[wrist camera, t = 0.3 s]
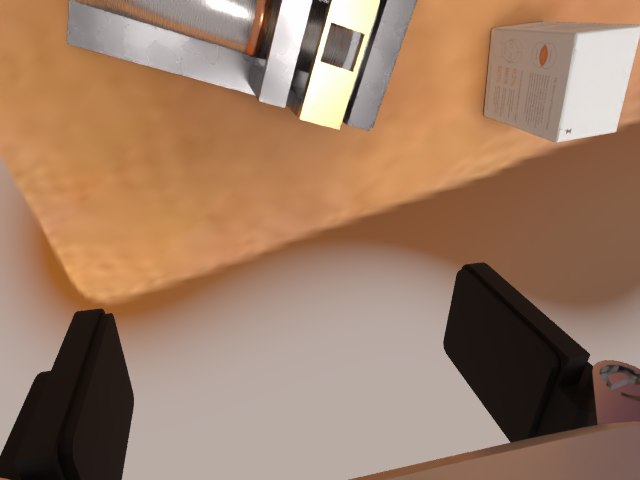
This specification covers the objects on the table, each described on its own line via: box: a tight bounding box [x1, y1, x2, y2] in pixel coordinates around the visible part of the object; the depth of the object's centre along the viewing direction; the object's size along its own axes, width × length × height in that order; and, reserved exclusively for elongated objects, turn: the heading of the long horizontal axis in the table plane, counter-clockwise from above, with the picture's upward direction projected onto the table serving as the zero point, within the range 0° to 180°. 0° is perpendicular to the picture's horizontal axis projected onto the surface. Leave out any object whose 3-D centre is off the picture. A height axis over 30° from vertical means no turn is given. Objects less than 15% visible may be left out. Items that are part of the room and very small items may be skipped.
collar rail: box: [67, 0, 417, 131], centre depth 30 cm, size 11×25×9 cm, turn 73°
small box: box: [484, 22, 640, 143], centre depth 36 cm, size 8×6×10 cm
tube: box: [74, 0, 353, 73], centre depth 30 cm, size 18×5×5 cm, turn 73°
